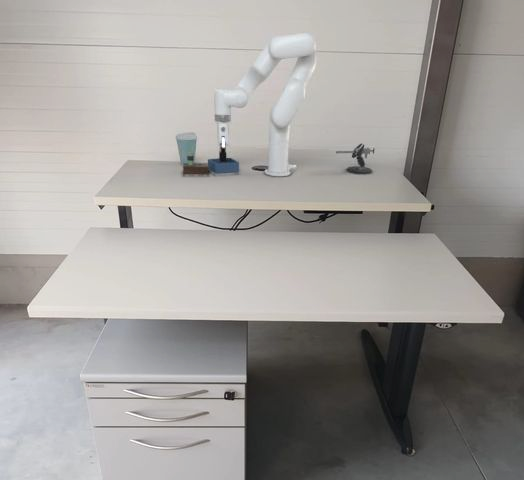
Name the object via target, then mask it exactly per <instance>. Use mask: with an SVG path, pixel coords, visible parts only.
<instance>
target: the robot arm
mask: <svg viewBox="0 0 524 480" xmlns="http://www.w3.org/2000/svg"><path fill="white" fill-rule="evenodd" d="M316 47H317V40H316V37H315V36H314V34H312V33H311V32H309V31H303V32H300V33H293V34H286V35H285V34H283V35H273V36H272V37H271V38H270V40H269V41H268V42H267V43H266V45H265V46H264V47H263V49H262V50H261V51H260V53H259V54H258V56H256V58H255V59H254V61H253V62H252V64H251V65H250V66H249V68H248V70H247V71H246V73H245V74H244V75H243V77H242V78H241V79H240V80H239V82H238V83H237V84H236V86H235V87H234V89H229V88H225V87H218V88H215V89H214V91H213V93H214V94H213V95H214V97H213V98H214V104H213V105H214V123H216V128H217V129H216V132H217V133H216V134H217V143H218V146H219V151H218V152H219V153H218V158H219V159H220V161H223V162H226V158H227V147H229V146H230V124H231V123H232V108H236V109H237V108H238V109H243V108H245V107H246V106H247V104H248V102H249V99H250V97H251V95H252V94H253V93H254V92H255V90H256V89H257V88H258V87H259V86H260V85H261V84H262V83H263V82H265V81H266V80H267V79H268V78H269V76H270V75H271V74H272V72H273V71H274V70H275V69H276V67H277V66H278V65H279V63H280V62H281V60H286V59H287V60H288V59H295V58H297V59H296V62H295V65H294V66H293V69H292V70H291V73H290V74H289V76H288V78H287V80H286V81H285V83H284V84H283V87H282V93H281V95H280V97H279V99H278V101H276V102H274V103H273V104H272V106H271V107H270V109H269V128H268V129H269V132H268V134H269V135H268V157H267V160H268V161H267V168H266V169H265V170H264V174H265V175H267V176H271V177H287V176H290V175H291V170H296V169H297V168H298V167H297V164H290V163H289V150H290V136H291V135H290V133H291V123H292V122H293V120H294V118H295V117H296V115H297V114H298V111H299V109H300V108H301V106H302V104H303V102H304V100H305V98H306V92H307V91H306V90H307V89H306V87H307V85H308V83H309V82H310V79H311V77H312V75H313V74H314V71H315V69H316V66H317V59H318V55H317V49H316Z"/></svg>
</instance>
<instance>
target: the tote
mask: <svg viewBox="0 0 524 480" xmlns="http://www.w3.org/2000/svg"><path fill="white" fill-rule="evenodd" d="M207 163H208V171H210V172H211V173H213V174H215V175H221V174H233V173H239V172H240V161H238V160H236V159H234V158H232V157H226V162H224V163H222V162H220V159H219V157H218V158H208V159H207Z"/></svg>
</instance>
